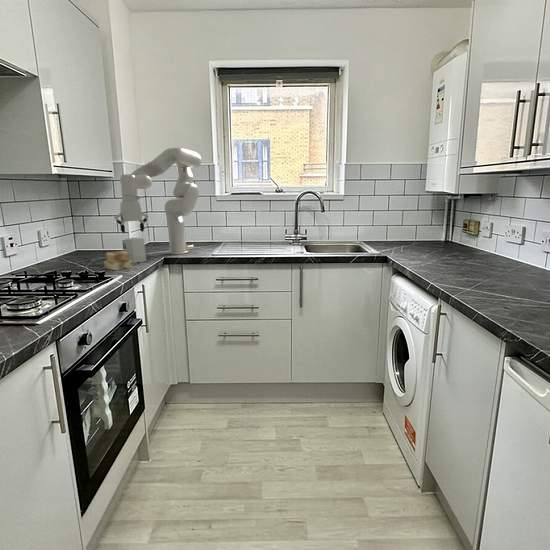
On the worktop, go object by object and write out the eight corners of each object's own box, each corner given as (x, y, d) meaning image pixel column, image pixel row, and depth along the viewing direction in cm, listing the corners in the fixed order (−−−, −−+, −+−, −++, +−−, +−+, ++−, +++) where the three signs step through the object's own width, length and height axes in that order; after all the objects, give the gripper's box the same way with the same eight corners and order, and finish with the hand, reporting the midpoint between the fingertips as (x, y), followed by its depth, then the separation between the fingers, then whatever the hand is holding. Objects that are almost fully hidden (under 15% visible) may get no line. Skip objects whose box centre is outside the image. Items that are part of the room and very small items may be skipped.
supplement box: (146, 261, 209) (144, 238, 206) (134, 263, 203) (131, 240, 200) (139, 259, 213) (137, 237, 210) (127, 262, 208) (124, 238, 205)
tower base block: (123, 265, 201) (122, 258, 200) (133, 268, 195) (132, 260, 194) (104, 269, 194) (103, 261, 193) (113, 271, 188) (112, 263, 187)
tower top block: (125, 258, 200) (124, 250, 199) (129, 261, 192) (128, 253, 191) (106, 260, 195) (105, 252, 194) (110, 263, 187) (109, 255, 187)
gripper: (144, 198, 208) (146, 230, 212) (110, 199, 198) (113, 232, 202) (149, 198, 202) (151, 231, 206) (114, 199, 192) (117, 233, 196)
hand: (132, 231), depth 204 cm, fingers open, 9 cm apart
